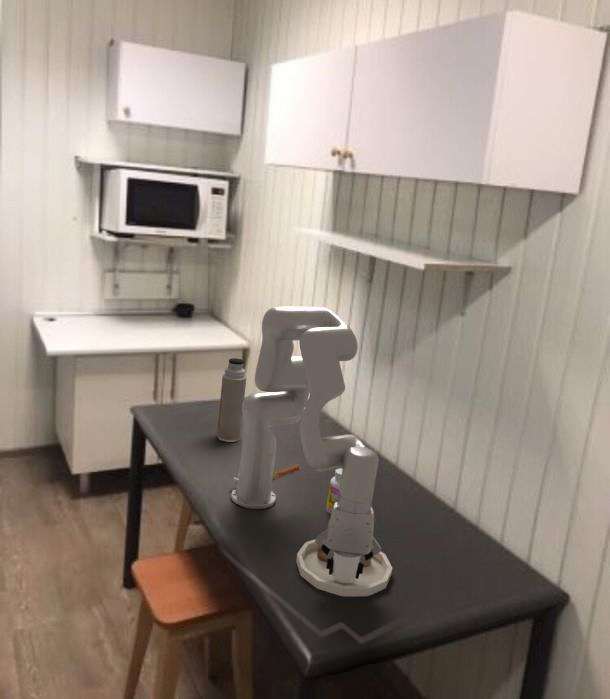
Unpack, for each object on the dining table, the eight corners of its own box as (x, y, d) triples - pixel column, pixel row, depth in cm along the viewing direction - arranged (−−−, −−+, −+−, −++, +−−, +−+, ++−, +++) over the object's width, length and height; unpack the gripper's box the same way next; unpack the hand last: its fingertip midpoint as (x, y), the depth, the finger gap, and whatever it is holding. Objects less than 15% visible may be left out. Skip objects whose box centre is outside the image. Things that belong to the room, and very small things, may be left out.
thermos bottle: (214, 440, 232) (221, 360, 225) (220, 432, 240) (227, 355, 233) (237, 444, 231) (245, 364, 224) (242, 435, 239) (250, 358, 232)
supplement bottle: (322, 515, 190) (328, 472, 187) (330, 505, 196) (335, 464, 193) (345, 521, 188) (351, 478, 185) (352, 511, 194) (358, 470, 191)
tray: (278, 562, 164) (279, 551, 164) (344, 538, 179) (345, 528, 178) (341, 611, 149) (343, 599, 148) (408, 581, 163) (410, 570, 162)
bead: (312, 554, 168) (314, 540, 167) (327, 549, 171) (329, 534, 170) (326, 564, 164) (328, 549, 163) (341, 558, 167) (343, 544, 166)
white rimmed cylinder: (357, 568, 161) (360, 542, 159) (360, 585, 154) (364, 558, 153) (328, 566, 161) (331, 539, 159) (330, 583, 154) (333, 556, 152)
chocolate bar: (301, 471, 217) (301, 465, 216) (274, 481, 208) (275, 474, 207) (295, 468, 218) (295, 462, 218) (268, 478, 210) (269, 471, 209)
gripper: (315, 504, 150) (305, 577, 154) (393, 515, 149) (381, 588, 153) (317, 489, 157) (307, 559, 161) (392, 499, 156) (380, 570, 161)
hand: (343, 572), depth 157 cm, fingers closed on white rimmed cylinder, 5 cm apart
